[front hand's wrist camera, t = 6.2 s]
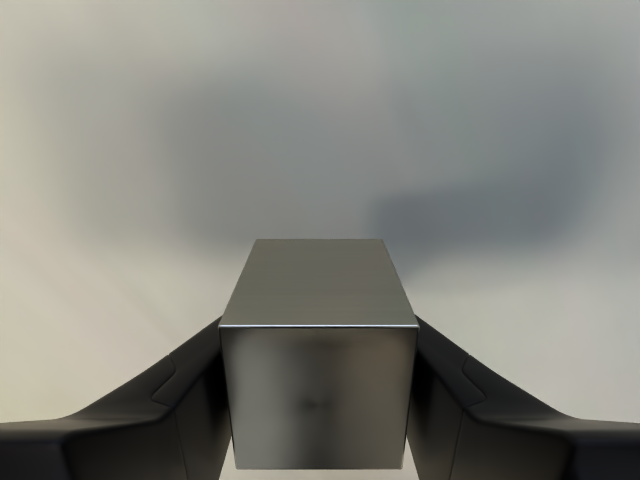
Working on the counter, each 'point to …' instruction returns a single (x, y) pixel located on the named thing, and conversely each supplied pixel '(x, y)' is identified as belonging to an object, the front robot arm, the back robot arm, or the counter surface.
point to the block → (318, 356)
